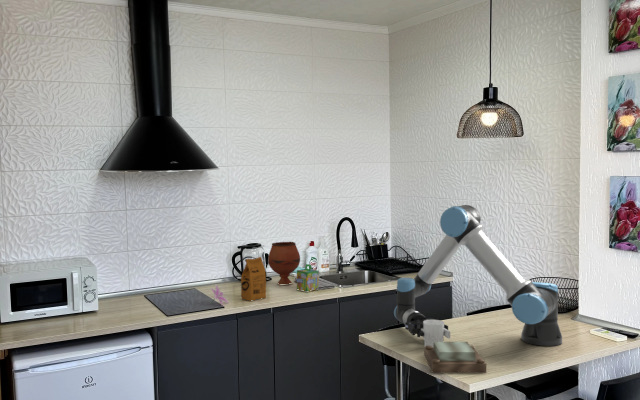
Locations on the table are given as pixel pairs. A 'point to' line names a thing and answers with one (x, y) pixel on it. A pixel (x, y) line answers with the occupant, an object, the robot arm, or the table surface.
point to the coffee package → (253, 280)
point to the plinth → (454, 364)
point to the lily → (219, 295)
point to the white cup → (433, 331)
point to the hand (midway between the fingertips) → (439, 335)
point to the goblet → (284, 259)
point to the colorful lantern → (307, 279)
